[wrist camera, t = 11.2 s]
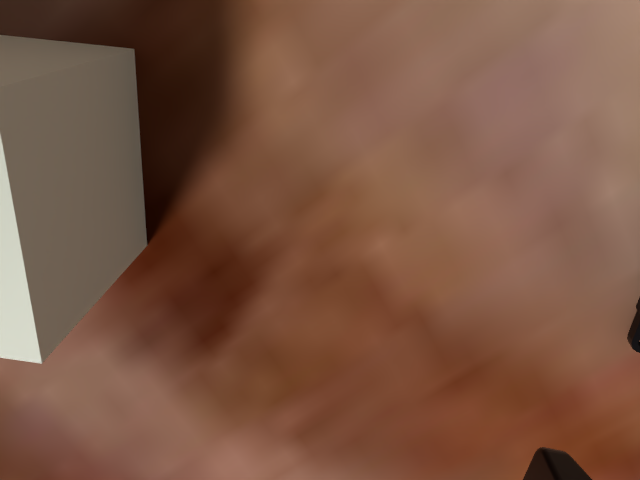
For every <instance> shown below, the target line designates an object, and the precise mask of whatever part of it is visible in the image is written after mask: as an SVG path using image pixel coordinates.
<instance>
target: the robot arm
mask: <svg viewBox="0 0 640 480" xmlns="http://www.w3.org/2000/svg"><path fill="white" fill-rule="evenodd" d="M636 308H637V310H638V311H637V314H636V316H635V318H634V321H633V323H632V326H631V328H630V330H629V333H628V337H627V339H628V342H629V344H630V345H631V347H632V348H633V349H634V350H635V351H636V352H639V353H640V342H639V340H640V298H639V300H638V303H637V305H636ZM523 480H592V479H591V478H590V477H589V476H588V475H587V474H586V472H585V471H584V470H583V469H582V468H581V467H580V466H579V465H578V464H577V463H576V462H575V461H574V459H573V458H572V457H571V456H570V455H569V454H567V453H566V452H564V451H560V450H555V449H550V448H545V447H542V448H539V449H538V450H537V451H536V452H535V454H534V456H533V459H532V461H531V463H530V465H529V467H528V470H527V472H526V474H525V476H524V479H523Z"/></svg>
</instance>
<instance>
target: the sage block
mask: <svg viewBox="0 0 640 480" xmlns="http://www.w3.org/2000/svg"><path fill="white" fill-rule="evenodd" d="M146 246H147V236H146V221H145V205H144V190H143V175H142V159H141V144H140V129H139V114H138V98H137V83H136V68H135V52H134V49H132V48H122V47H112V46H103V45H93V44H84V43H74V42H64V41H55V40H45V39H36V38H26V37H16V36H7V35H0V358H7V359H14V360H21V361H28V362H35V363H43V362H44V361H45V359H46V358H47V357H48V356H49V355H50V354H51V353H52V352H53V350H54V349H55V348H56V347H57V346H58V345H59V344H60V343H61V341H62V340H63V339H64V338H65V337H66V336H67V335H68V334H69V332H70V331H71V330H72V329H73V328H74V327H75V326H76V325H77V324H78V322H79V321H80V320H81V319H82V318H83V317H84V316H85V315H86V313H87V312H88V311H89V310H90V309H91V308H92V307H93V306H94V304H95V303H96V302H97V301H98V300H99V299H100V298H101V297H102V295H103V294H104V293H105V292H106V291H107V290H108V289H109V288H110V287H111V285H112V284H113V283H114V282H115V281H116V280H117V279H118V278H119V276H120V275H121V274H122V273H123V272H124V271H125V270H126V269H127V267H128V266H129V265H130V264H131V263H132V262H133V261H134V260H135V258H136V257H137V256H138V255H139V254H140V253H141V252H142V251H143V250H144V248H145V247H146Z"/></svg>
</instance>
